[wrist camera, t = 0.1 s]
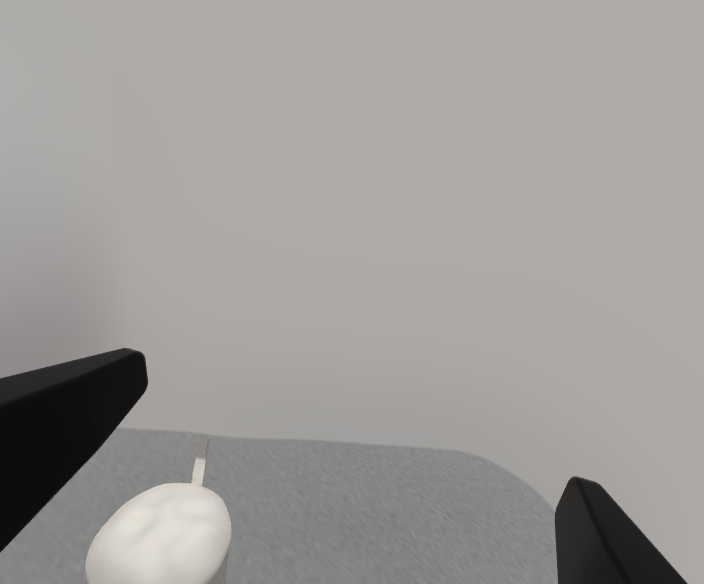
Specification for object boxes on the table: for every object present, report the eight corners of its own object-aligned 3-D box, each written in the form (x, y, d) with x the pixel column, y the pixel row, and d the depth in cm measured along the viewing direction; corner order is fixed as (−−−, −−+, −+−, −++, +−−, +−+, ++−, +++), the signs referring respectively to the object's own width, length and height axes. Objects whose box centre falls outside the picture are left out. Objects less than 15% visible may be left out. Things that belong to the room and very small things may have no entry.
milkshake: (257, 596, 20) (258, 447, 16) (202, 751, 15) (184, 593, 11) (172, 574, 20) (152, 424, 16) (93, 717, 15) (36, 553, 11)
